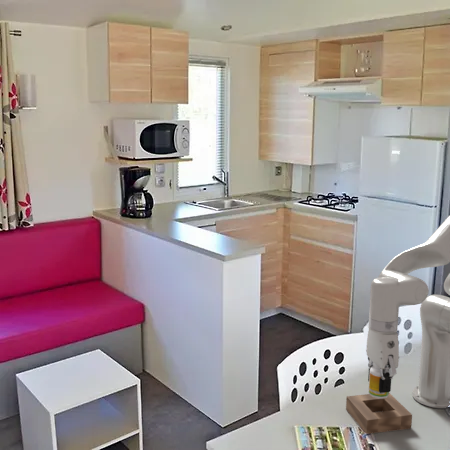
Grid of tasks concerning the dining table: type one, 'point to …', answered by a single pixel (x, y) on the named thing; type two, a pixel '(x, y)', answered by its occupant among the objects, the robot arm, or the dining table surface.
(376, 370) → the supplement bottle
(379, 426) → the socket block
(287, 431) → the dining table surface
